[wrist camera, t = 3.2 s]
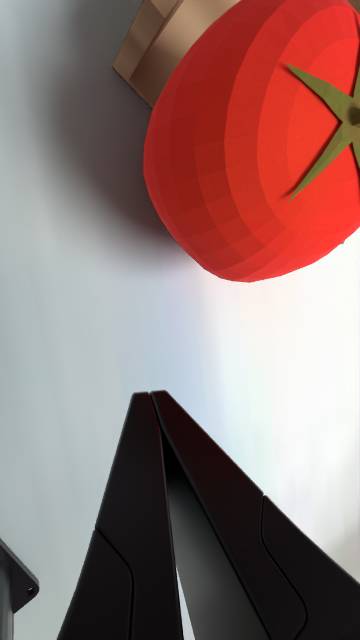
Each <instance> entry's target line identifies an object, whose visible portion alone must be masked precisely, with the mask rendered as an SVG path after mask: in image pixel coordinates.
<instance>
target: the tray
mask: <svg viewBox="0 0 360 640" xmlns="http://www.w3.org/2000/svg"><path fill="white" fill-rule="evenodd" d="M239 1H241V0H143V2H142V4H141V6H140V8H139V10H138V12H137V14H136V17H135V19H134V21H133V23H132V25H131V27H130V29H129V31H128V34H127V36H126V38H125V40H124V42H123V44H122V46H121V48H120V51H119V53H118V55H117V57H116V59H115V61H114V63H113V65H112V67H113V68H114V69H115V70H116V71H117V72H118V73H119V74H120V75H121V76H122V78H123V79H124V80H125V81H126V82H127V83H128V84H129V85H130V86H131V87H132V88H133V89H134V90H135V91H136V92H137V93H138V94H139V96H140V97H141V98H142V99H143V100H144V101H145V102H146V103H147V104H148V105H149V106H150V107H151V108H152V109H153V108H154V106H155V104H156V102H157V101H158V99H159V97H160V95H161V93H162V91H163V89H164V87H165V85H166V83H167V82H168V80H169V78H170V76H171V75H172V73H173V71H174V70H175V68H176V67H177V65H178V64H179V63H180V61H181V60H182V59H183V57H184V56H185V54H186V53H187V52H188V50H189V49H190V48H191V46H192V45H193V44H194V43H195V42H196V41H197V39H198V38H199V37H200V36H201V35H202V34H203V33H204V32H205V31H206V29H207V28H208V27H209V26H210V25H211V24H212V23H213V22H215V21H216V20H217V19H218V18H219V17H220V16H222V15H223V14H224V13H225V12H226V11H227V10H228V9H230V8H231V7H232V6H234V5H235V4H237V3H238V2H239ZM347 1H348V2H349V3H350V4H351V5H352V7H353V8H354V9H355V10H356V11H357V12H358V13H359V15H360V0H347ZM344 241H345V240H344ZM344 241H343V242H342V243H341V244H343V243H344Z"/></svg>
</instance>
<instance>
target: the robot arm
mask: <svg viewBox="0 0 360 640" xmlns="http://www.w3.org/2000/svg"><path fill="white" fill-rule="evenodd" d="M263 495H264V493H263V491H262V490H261V489H260V488H259V487H258V486H257V485H256V484H255V483H254V482H253V481H252V480H251V479H250V478H249V477H248V476H247V475H246V473H245V472H244V471H243V470H242V469H241V468H240V467H239V466H238V465H237V464H236V463H235V462H234V461H233V460H232V459H231V458H230V457H229V456H228V455H227V454H226V453H225V451H224V450H223V449H222V448H221V447H220V446H219V445H218V444H217V443H216V442H215V441H214V440H213V439H212V438H211V437H210V436H209V435H208V434H207V433H206V432H205V431H204V430H203V428H202V427H201V426H200V425H199V424H198V423H197V422H196V421H195V420H194V419H193V418H192V417H191V416H190V415H189V414H188V413H187V412H186V411H185V410H184V409H183V408H182V406H181V405H180V404H179V403H178V402H177V401H176V400H175V399H174V398H173V397H172V396H171V395H170V394H169V393H168V392H167V391H166V390H157V391H151V392H150V393H149V392H135V393H133V394H132V397H131V401H130V404H129V408H128V411H127V415H126V418H125V422H124V425H123V429H122V432H121V436H120V439H119V443H118V446H117V450H116V453H115V457H114V460H113V464H112V467H111V471H110V475H109V478H108V482H107V485H106V489H105V492H104V496H103V499H102V503H101V506H100V510H99V513H98V517H97V520H96V524H95V530H94V531H93V534H92V537H91V541H90V544H89V548H88V551H87V555H86V558H85V561H84V564H83V567H82V570H81V574H80V577H79V580H78V583H77V586H76V589H75V592H74V595H73V597H72V600H71V603H70V605H69V608H68V611H67V613H66V616H65V619H64V621H63V624H62V627H61V630H60V632H59V635H58V637H57V640H184V636H183V627H182V618H181V609H180V600H179V590H178V581H177V572H176V566H177V570H178V574H179V578H180V582H181V585H182V589H183V593H184V597H185V601H186V605H187V609H188V613H189V617H190V621H191V625H192V629H193V633H194V637H195V640H360V583H359V582H358V581H357V580H355V579H354V578H353V577H352V576H351V575H350V574H349V573H348V572H346V571H345V570H344V569H343V568H342V567H341V566H340V565H338V564H337V563H336V562H335V561H334V560H333V559H332V558H331V557H329V556H328V555H327V554H326V553H325V552H324V551H323V550H322V549H321V548H320V547H318V546H317V545H316V544H315V543H314V542H313V541H312V540H311V539H310V538H309V537H308V536H306V535H305V534H304V533H303V532H302V531H301V530H300V529H299V528H298V527H297V526H296V525H295V524H294V523H293V522H292V521H291V520H290V519H289V518H288V517H287V516H286V515H285V514H284V513H283V512H282V511H281V510H280V509H279V508H278V507H277V506H276V505H275V504H274V503H273V502H272V501H271V499H270V498H269V497H268V496H267V495H264V496H263ZM175 562H176V563H175ZM30 588H32V589H31V590H28V589H30ZM38 592H39V581H38V579H37V578H36V577H35V576H34V575H33V574H32V573H31V572H30V570H29V569H28V568H27V567H26V566H25V565H24V564H23V563H22V562H21V561H20V560H19V558H18V557H17V556H16V555H15V554H14V553H13V552H12V551H11V550H10V549H9V548H8V546H7V545H6V544H5V543H4V542H3V541H2V540H1V539H0V640H13V634H14V614H15V613H16V612H17V611H18V610H19V609H21V608H22V607H23V606H24V605H26V604H27V603H28V602H29V601H30V600H32V599H33V598H34V597H35V596H36V595H37V594H38Z"/></svg>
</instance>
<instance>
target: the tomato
mask: <svg viewBox="0 0 360 640" xmlns="http://www.w3.org/2000/svg"><path fill="white" fill-rule="evenodd" d="M143 175H144V179H145V182H146V186H147V190H148V193H149V197H150V199H151V201H152V203H153V205H154V207H155V209H156V211H157V213H158V215H159V217H160V219H161V220H162V222H163V223H164V225H165V226H166V228H167V229H168V231H169V232H170V234H171V235H172V236H173V238H174V239H175V240H176V241H177V242H178V243H179V245H180V246H181V247H182V248H183V249H184V250H185V251H186V252H187V253H188V254H189V255H190V256H191V257H192V258H193V259H194V260H195V261H196V262H197V263H198V264H199V265H200V266H202V267H203V268H204V269H205V270H207V271H209V272H210V273H212V274H214V275H216V276H218V277H219V278H222V279H226V280H230V281H237V282H248V283H250V282H254V281H259V280H264V279H269V278H274V277H278V276H282V275H284V274H287V273H290V272H292V271H295V270H297V269H300V268H303V267H305V266H308V265H310V264H312V263H314V262H316V261H317V260H319V259H321V258H322V257H324V256H326V255H327V254H329V253H330V252H331V251H332V250H333V249H335V248H336V247H337V246H338V245H339V244H341V243H342V242H343V241H344V240H345V239H347V238H348V237H349V236H350V235H351V234H353V233H354V232H355V231H356V230H357V229H358V228H359V227H360V15H359V13H358V12H357V11H356V10H355V9H354V8H353V7H352V5H351V4H350V3H349V2H348V1H347V0H241V1H239V2H238V3H237V4H235V5H234V6H232V7H231V8H230V9H228V10H227V11H226V12H225V13H224V14H223V15H222V16H220V17H219V18H218V19H217V20H216V21H215V22H213V23H212V24H211V25H210V26H209V27H208V28H207V29H206V31H205V32H204V33H203V34H202V35H201V36H200V37H199V38H198V39H197V41H196V42H195V43H194V44H193V45H192V46H191V48H190V49H189V50H188V52H187V53H186V54H185V56H184V57H183V59H182V60H181V61H180V63H179V64H178V65H177V67H176V68H175V70H174V71H173V73H172V75H171V76H170V78H169V80H168V82H167V83H166V85H165V87H164V89H163V91H162V93H161V95H160V97H159V99H158V101H157V102H156V104H155V106H154V108H153V110H152V112H151V117H150V121H149V125H148V130H147V134H146V138H145V143H144V153H143Z"/></svg>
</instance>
